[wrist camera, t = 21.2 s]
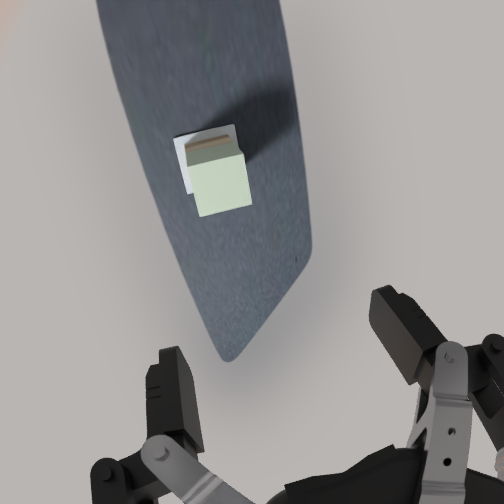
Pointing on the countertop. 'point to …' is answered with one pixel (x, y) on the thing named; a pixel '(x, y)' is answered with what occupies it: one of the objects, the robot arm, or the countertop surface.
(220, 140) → the maple block
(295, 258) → the countertop surface
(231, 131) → the white tile
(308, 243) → the countertop surface
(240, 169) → the sage block
